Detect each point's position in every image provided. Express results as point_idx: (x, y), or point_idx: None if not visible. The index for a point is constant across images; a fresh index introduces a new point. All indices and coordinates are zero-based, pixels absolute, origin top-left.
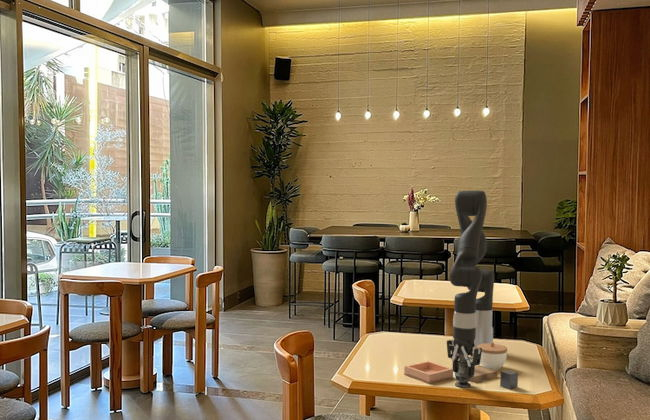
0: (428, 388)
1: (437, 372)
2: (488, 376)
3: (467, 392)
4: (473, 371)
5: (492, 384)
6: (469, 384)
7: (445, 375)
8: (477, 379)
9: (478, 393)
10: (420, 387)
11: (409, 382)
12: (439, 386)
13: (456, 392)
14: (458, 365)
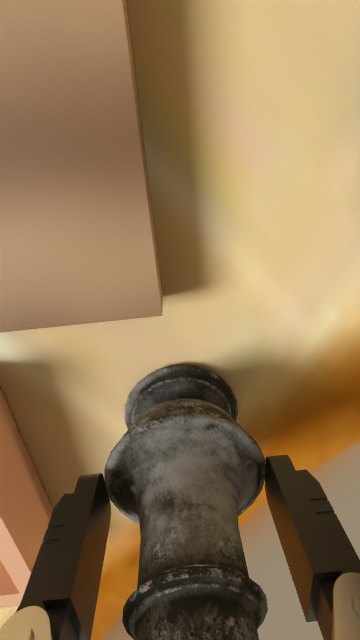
0: (135, 569)
1: (12, 549)
2: (133, 65)
3: (295, 460)
4: (333, 523)
5: (285, 184)
6: (223, 397)
7: (5, 454)
8: (157, 260)
9: (349, 420)
10: (106, 586)
11: None
12: (131, 520)
13: (258, 503)
14: (87, 539)
